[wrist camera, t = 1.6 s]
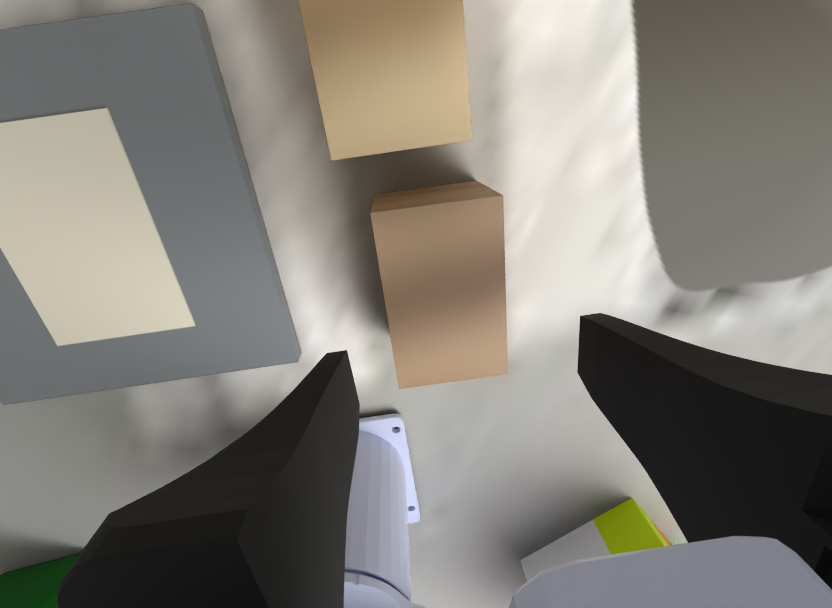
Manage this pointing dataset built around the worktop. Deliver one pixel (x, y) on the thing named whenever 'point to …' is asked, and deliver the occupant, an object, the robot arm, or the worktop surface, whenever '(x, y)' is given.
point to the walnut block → (443, 281)
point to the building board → (127, 212)
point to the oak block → (388, 73)
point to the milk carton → (34, 584)
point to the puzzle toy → (599, 539)
